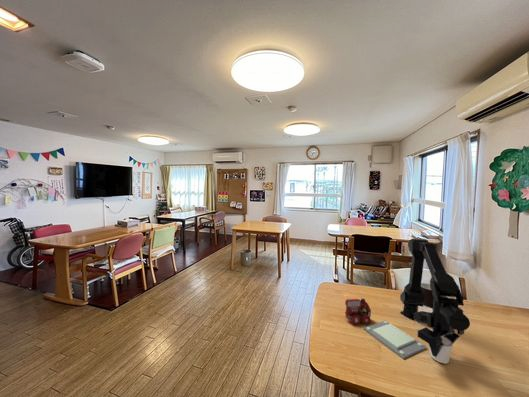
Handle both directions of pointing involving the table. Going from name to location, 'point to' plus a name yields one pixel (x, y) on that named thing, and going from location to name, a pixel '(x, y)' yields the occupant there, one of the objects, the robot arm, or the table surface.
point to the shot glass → (443, 351)
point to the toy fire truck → (358, 311)
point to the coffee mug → (427, 295)
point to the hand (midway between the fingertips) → (439, 353)
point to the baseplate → (395, 339)
